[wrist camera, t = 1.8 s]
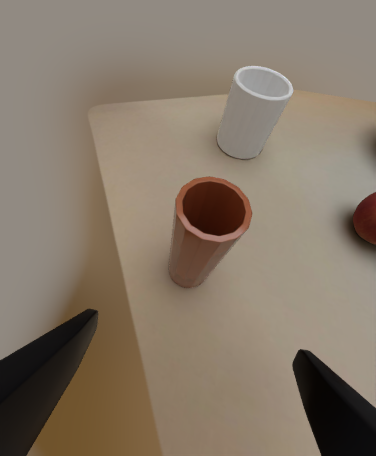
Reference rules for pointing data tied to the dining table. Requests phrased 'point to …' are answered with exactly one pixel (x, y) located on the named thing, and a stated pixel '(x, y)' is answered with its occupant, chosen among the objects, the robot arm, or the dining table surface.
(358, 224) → the apple
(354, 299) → the dining table surface
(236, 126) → the mug
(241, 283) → the dining table surface
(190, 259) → the terracotta cup
